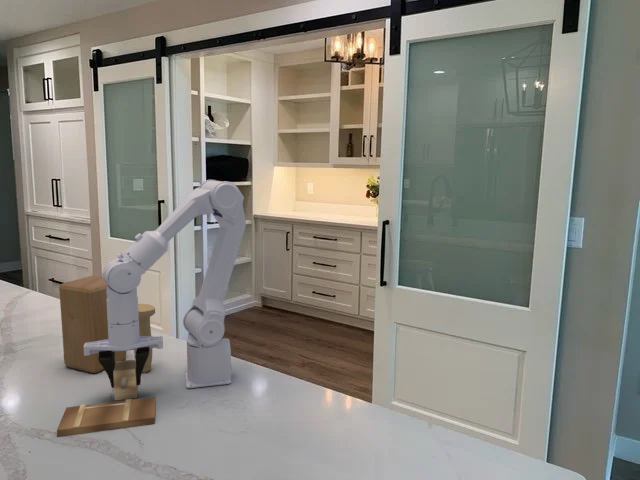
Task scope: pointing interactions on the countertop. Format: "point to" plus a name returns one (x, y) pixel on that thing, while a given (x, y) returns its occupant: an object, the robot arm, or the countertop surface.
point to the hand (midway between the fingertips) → (126, 384)
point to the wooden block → (84, 321)
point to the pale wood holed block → (125, 380)
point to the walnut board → (107, 416)
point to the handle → (145, 329)
